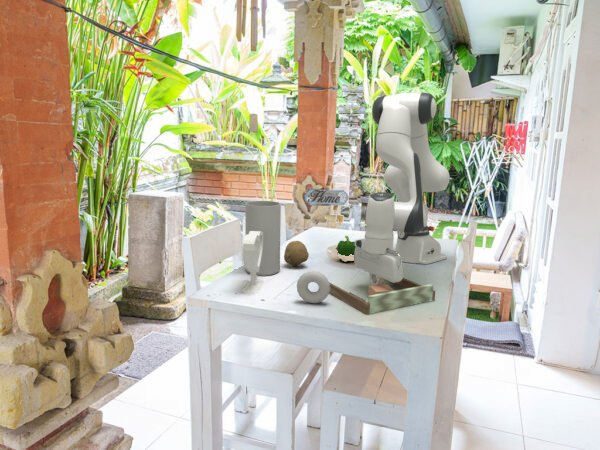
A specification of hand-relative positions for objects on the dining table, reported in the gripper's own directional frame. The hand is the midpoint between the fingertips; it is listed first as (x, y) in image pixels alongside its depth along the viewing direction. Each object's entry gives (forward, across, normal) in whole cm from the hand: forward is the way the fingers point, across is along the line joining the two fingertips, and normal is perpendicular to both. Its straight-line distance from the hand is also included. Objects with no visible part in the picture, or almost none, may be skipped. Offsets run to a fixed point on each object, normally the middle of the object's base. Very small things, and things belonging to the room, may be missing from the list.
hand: (376, 287), depth 146 cm
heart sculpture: (+2, +24, +32) cm, 40 cm away
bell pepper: (+2, +36, -14) cm, 39 cm away
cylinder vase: (+2, +38, +22) cm, 44 cm away
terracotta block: (+2, -4, +2) cm, 5 cm away
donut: (+2, +2, +22) cm, 22 cm away
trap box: (+2, 0, 0) cm, 2 cm away
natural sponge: (+2, +38, +8) cm, 39 cm away
